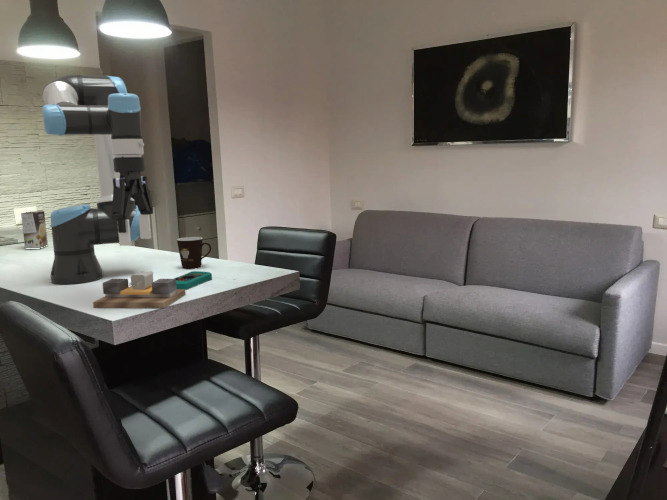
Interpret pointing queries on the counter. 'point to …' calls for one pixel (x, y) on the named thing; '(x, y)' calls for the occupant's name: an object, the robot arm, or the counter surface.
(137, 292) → the orange flat plate
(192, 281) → the digital multimeter
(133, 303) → the board
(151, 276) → the usb wall charger
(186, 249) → the coffee mug
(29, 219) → the coffee box
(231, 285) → the counter surface
